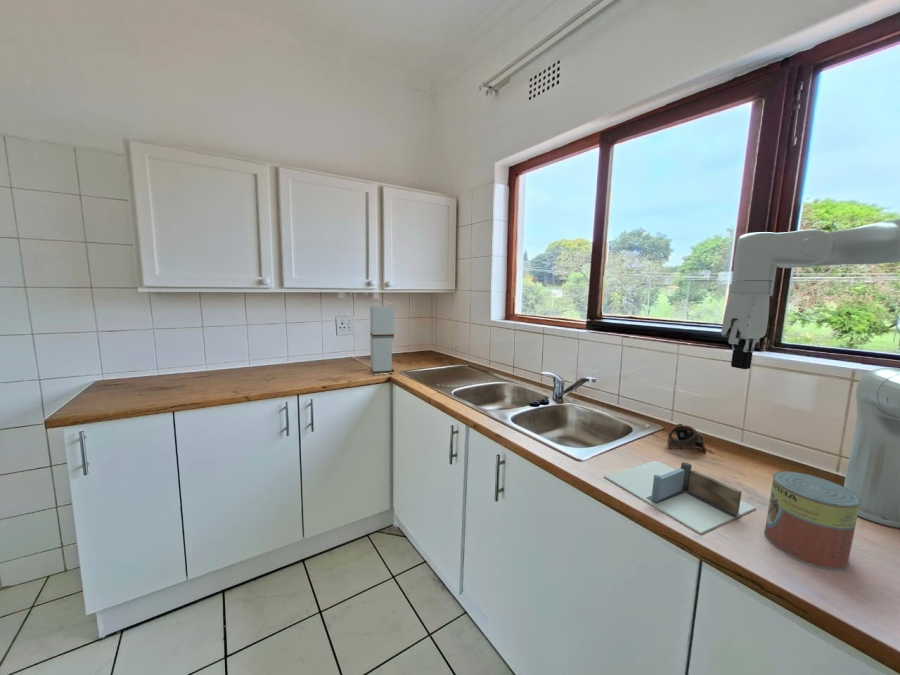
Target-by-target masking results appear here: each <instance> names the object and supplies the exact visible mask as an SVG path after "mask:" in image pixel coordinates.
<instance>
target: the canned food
mask: <svg viewBox="0 0 900 675" xmlns="http://www.w3.org/2000/svg"><path fill="white" fill-rule="evenodd" d="M772 478H773V479H772V485H771V492H770V496H769V503H768V509H767V516H766V521H765V522H766V523H765V528H764V530H763V535H764V537H765V539H766V540H767V541H768V542H769V544H771V545H772V546H773V547H774V548H775V549H777V550H779V551H780V552H782V553H783V554H785V555H786V556H788V557H791V558H792V559H795V560H796V561H799V562H801V563H804V564H806V565H809V566H812V567H815V568H819V569H822V570H827V571H828V570H830V571H843V570H846V569H847V568H848V567H849V563H850V562H849V560H850V555H851V550H852V545H853V540H854V535H855V529H856V525H857V519H858V517H859V516H858V511H859V506H860V504H861V499H860V498H859V497H858V496H857V495H856V494H855V493H853V492H852V491H850V490H849V489H847V488H845V487H844V485H843V486H842V485H840V484H838V483H836V482H834V481H831V480H828V479H825V478H822V477H819V476H816V475H812V474H808V473H803V472H797V471H789V470H785V471H777V472H774V473H773V474H772Z"/></svg>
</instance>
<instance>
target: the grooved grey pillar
mask: <svg viewBox="0 0 900 675" xmlns="http://www.w3.org/2000/svg"><path fill="white" fill-rule="evenodd" d="M369 311H370V312H369V314H370V316H369V319H370V321H369V323H370V324H369V325H370V328H369V329H370V333H369V334H370V335H369V336H370V372H371V371H372V372H371V374H372V373H373V374H380V373H390V372H394V373H395V370H394V369H393V365H392V364H393V363H392V362H393V361H392V360H393V359H392V358H393V353H392V352H393V349H392V346H393V345H392V344H393V343H392V342H393V341H395V307H393V306H391V305H388V306H387V307H386V306H385V307H384V306H383V307H382V306H381V307H379V306H373V305H370V308H369ZM373 374H372V375H373Z"/></svg>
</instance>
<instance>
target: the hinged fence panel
mask: <svg viewBox="0 0 900 675" xmlns="http://www.w3.org/2000/svg"><path fill="white" fill-rule="evenodd" d="M684 474H685V470H684V469H682V468H681V467H680V468H677V469H675V470H674V471H672V472H669V473H667V474H664V475H661V476H659V475H654V480H653V489H652V498H651V500H652V501H654V502H659V500H661V499H664V498H666V497H668V496H670V495H673V494H675V493H677V492H679V491H682V490H683V482H684Z"/></svg>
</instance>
